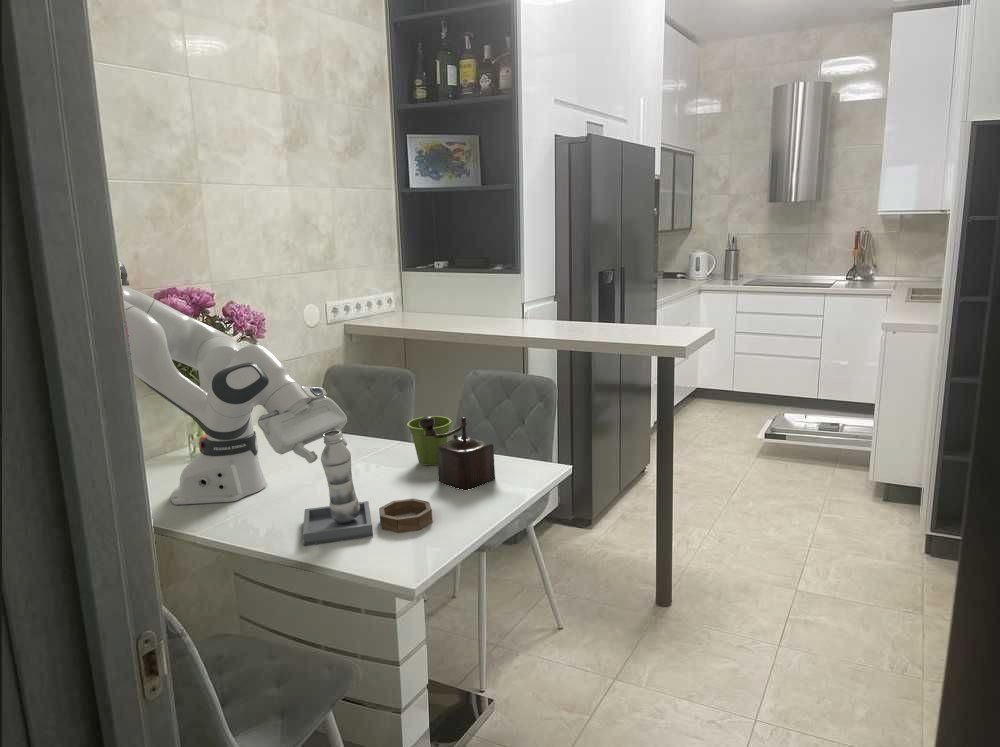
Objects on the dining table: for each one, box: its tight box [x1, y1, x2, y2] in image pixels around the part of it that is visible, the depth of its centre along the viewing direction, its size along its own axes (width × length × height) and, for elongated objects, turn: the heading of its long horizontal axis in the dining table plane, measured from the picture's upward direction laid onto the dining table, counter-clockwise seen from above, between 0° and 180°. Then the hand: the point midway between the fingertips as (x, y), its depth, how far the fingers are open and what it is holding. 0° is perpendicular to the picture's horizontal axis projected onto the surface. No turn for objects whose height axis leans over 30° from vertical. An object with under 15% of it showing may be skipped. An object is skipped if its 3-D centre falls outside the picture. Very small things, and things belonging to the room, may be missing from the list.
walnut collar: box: [378, 498, 434, 534], centre depth 162 cm, size 11×11×3 cm
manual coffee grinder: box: [419, 415, 496, 491], centre depth 182 cm, size 16×11×18 cm
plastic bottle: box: [320, 431, 360, 523], centre depth 160 cm, size 6×7×20 cm
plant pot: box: [406, 415, 452, 466], centre depth 200 cm, size 12×12×11 cm
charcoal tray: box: [302, 500, 374, 547], centre depth 160 cm, size 14×14×3 cm
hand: (329, 453), depth 158 cm, fingers open, 8 cm apart
